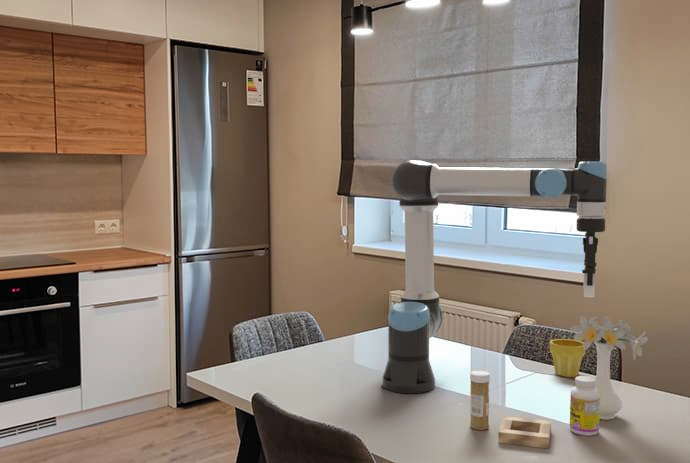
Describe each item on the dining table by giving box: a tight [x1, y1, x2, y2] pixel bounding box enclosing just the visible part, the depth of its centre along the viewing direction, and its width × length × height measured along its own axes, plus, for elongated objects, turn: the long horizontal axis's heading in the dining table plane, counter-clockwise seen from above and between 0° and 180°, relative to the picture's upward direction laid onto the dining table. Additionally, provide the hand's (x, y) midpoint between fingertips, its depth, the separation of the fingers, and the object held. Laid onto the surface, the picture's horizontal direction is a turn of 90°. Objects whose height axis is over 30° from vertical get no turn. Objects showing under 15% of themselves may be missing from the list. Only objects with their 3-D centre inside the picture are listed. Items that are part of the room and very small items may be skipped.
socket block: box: [498, 415, 552, 449], centre depth 164 cm, size 11×11×2 cm
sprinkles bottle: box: [469, 370, 491, 431], centre depth 170 cm, size 5×5×13 cm
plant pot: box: [549, 338, 586, 378], centre depth 215 cm, size 10×10×10 cm
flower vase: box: [569, 315, 649, 421], centre depth 178 cm, size 13×18×25 cm
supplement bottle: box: [569, 375, 600, 437], centre depth 167 cm, size 7×7×13 cm
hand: (588, 293), depth 198 cm, fingers open, 13 cm apart
